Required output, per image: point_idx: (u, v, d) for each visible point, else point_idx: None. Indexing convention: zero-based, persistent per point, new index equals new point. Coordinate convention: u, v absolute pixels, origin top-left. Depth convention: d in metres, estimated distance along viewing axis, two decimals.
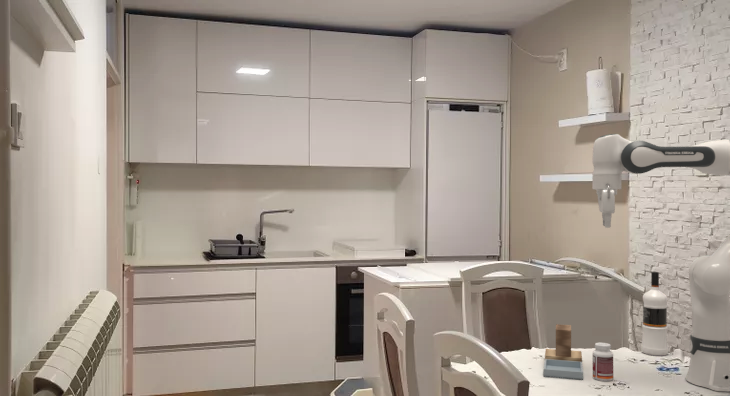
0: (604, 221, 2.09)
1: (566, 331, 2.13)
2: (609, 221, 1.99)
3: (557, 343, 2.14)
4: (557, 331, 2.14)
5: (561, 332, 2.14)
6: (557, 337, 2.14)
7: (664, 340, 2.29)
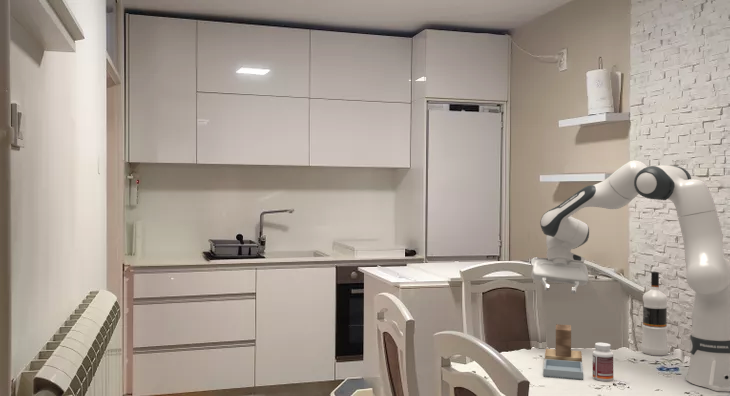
0: (571, 289, 2.29)
1: (566, 331, 2.13)
2: (544, 284, 2.30)
3: (557, 343, 2.14)
4: (557, 331, 2.14)
5: (561, 332, 2.14)
6: (557, 337, 2.14)
7: (664, 340, 2.29)
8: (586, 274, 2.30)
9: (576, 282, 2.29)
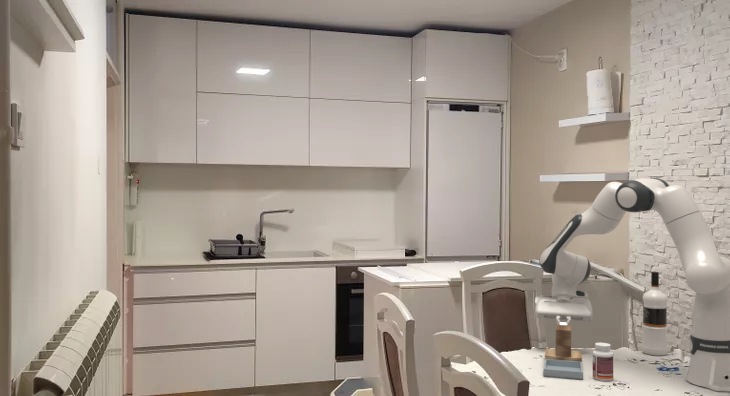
0: None
1: (566, 331, 2.13)
2: (558, 322, 2.29)
3: (557, 343, 2.14)
4: (557, 331, 2.14)
5: (561, 332, 2.14)
6: (557, 337, 2.14)
7: (664, 340, 2.29)
8: (590, 309, 2.28)
9: (568, 317, 2.29)
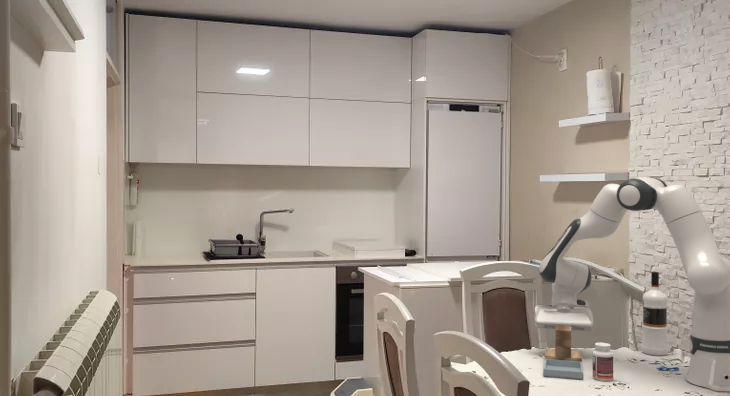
0: None
1: (566, 332, 2.12)
2: None
3: (557, 344, 2.13)
4: (557, 332, 2.13)
5: (561, 333, 2.13)
6: (557, 337, 2.13)
7: (664, 340, 2.29)
8: (591, 319, 2.23)
9: None
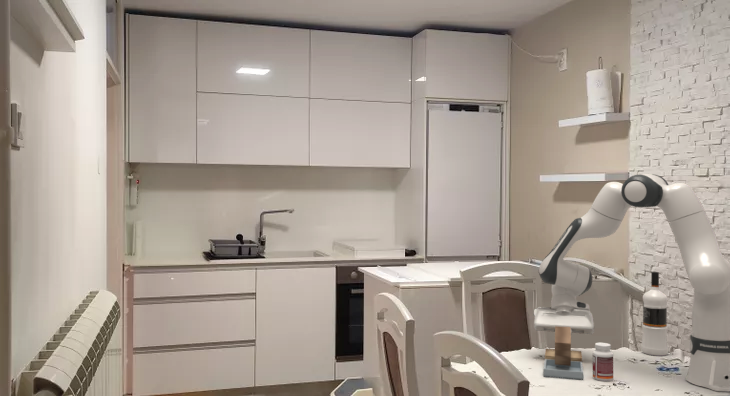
0: None
1: (566, 344, 2.06)
2: None
3: (556, 354, 2.08)
4: (556, 344, 2.07)
5: (560, 344, 2.06)
6: (556, 349, 2.08)
7: (664, 340, 2.29)
8: (591, 322, 2.17)
9: None
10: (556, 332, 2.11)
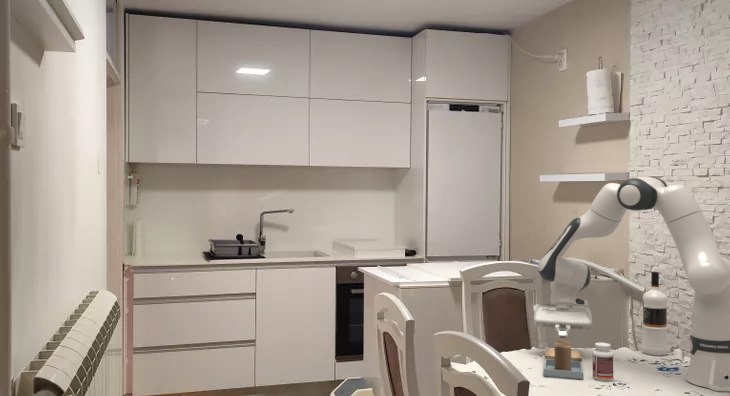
0: None
1: None
2: (557, 331, 2.23)
3: None
4: None
5: None
6: None
7: (664, 340, 2.29)
8: (589, 318, 2.23)
9: (567, 326, 2.23)
10: (556, 358, 2.02)
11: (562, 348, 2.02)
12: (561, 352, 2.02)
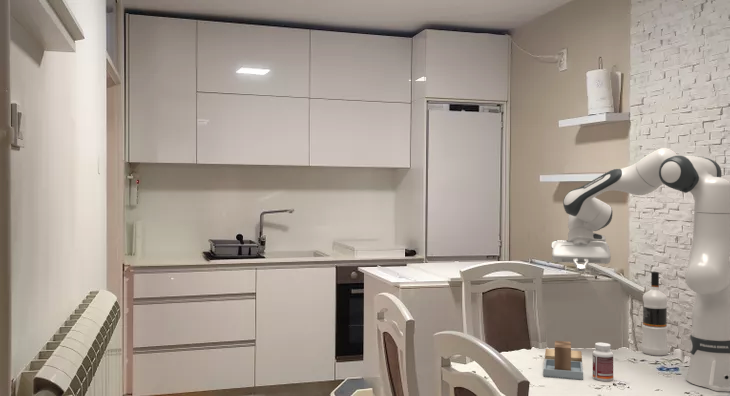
0: None
1: None
2: (576, 264, 2.27)
3: None
4: None
5: None
6: None
7: (664, 340, 2.29)
8: (607, 251, 2.26)
9: (585, 260, 2.27)
10: (556, 358, 2.02)
11: (562, 348, 2.02)
12: (561, 352, 2.02)
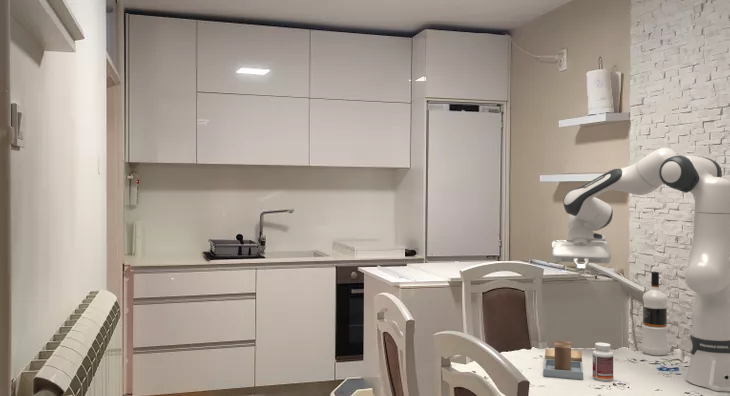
0: None
1: None
2: (576, 264, 2.27)
3: None
4: None
5: None
6: None
7: (664, 340, 2.29)
8: (607, 251, 2.26)
9: (585, 259, 2.27)
10: (556, 358, 2.02)
11: (562, 348, 2.02)
12: (561, 352, 2.02)
